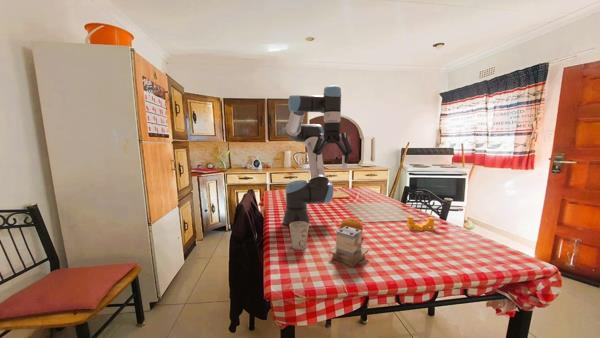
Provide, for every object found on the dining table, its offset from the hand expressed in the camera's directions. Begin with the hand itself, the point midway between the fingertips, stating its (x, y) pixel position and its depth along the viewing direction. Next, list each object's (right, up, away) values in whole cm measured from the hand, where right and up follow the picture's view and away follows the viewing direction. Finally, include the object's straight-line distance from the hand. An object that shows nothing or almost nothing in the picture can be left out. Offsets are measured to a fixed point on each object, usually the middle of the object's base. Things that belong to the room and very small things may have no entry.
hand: (331, 169), depth 103 cm
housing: (+5, -32, -15) cm, 35 cm away
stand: (+5, -35, -15) cm, 38 cm away
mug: (-16, -34, -3) cm, 37 cm away
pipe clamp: (+48, -32, +13) cm, 59 cm away
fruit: (+11, -32, +6) cm, 35 cm away
